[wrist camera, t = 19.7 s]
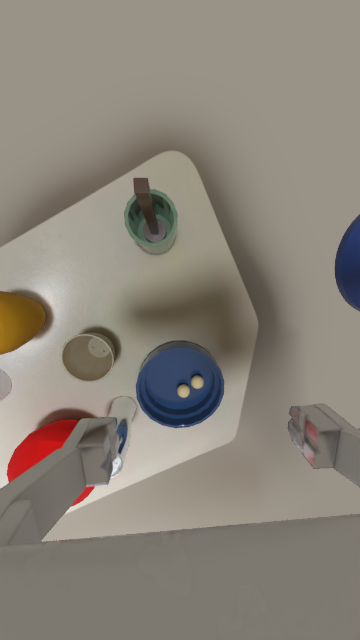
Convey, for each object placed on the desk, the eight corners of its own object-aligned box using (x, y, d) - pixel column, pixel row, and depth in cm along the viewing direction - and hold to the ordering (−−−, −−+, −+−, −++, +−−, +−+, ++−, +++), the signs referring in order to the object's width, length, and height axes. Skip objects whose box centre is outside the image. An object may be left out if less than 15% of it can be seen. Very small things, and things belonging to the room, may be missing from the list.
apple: (-1, 289, 40) (-78, 294, 28) (52, 288, 41) (-1, 292, 28) (10, 339, 43) (-57, 364, 30) (60, 337, 43) (15, 361, 31)
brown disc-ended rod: (166, 221, 39) (161, 160, 19) (166, 244, 40) (163, 209, 20) (144, 221, 39) (116, 160, 19) (145, 244, 40) (120, 209, 20)
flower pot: (69, 335, 43) (50, 346, 36) (110, 318, 43) (98, 326, 36) (90, 372, 45) (76, 389, 38) (129, 357, 45) (122, 371, 38)
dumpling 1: (181, 399, 43) (172, 390, 45) (186, 401, 45) (177, 393, 47) (190, 388, 44) (180, 380, 45) (193, 391, 46) (184, 383, 48)
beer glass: (142, 412, 48) (131, 470, 34) (118, 423, 48) (95, 485, 34) (130, 390, 47) (112, 440, 32) (104, 401, 47) (74, 456, 32)
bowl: (219, 339, 45) (224, 346, 40) (217, 410, 49) (223, 425, 44) (136, 342, 44) (132, 350, 39) (142, 415, 48) (139, 430, 43)
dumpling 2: (208, 380, 45) (203, 385, 43) (199, 388, 46) (195, 393, 44) (199, 371, 46) (194, 374, 44) (191, 378, 47) (186, 382, 45)
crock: (174, 211, 39) (176, 189, 29) (176, 253, 41) (178, 245, 31) (134, 212, 39) (122, 189, 29) (137, 254, 40) (126, 246, 31)
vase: (126, 441, 50) (100, 538, 31) (74, 478, 51) (19, 593, 33) (75, 392, 46) (11, 468, 27) (21, 434, 48) (-75, 534, 29)
